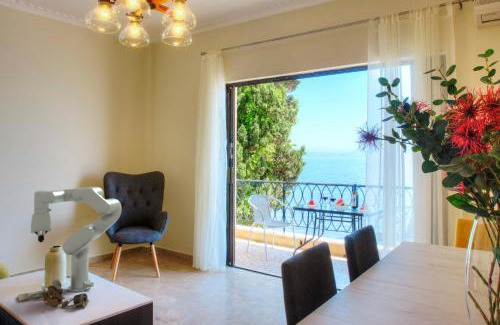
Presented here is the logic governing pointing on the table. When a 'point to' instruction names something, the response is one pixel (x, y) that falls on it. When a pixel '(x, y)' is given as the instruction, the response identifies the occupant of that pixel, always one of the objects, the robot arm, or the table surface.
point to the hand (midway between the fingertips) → (41, 241)
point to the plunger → (43, 288)
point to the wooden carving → (53, 295)
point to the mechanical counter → (77, 301)
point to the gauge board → (35, 294)
